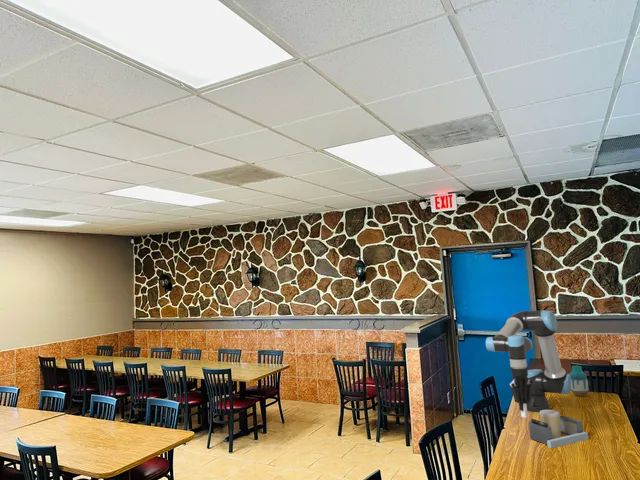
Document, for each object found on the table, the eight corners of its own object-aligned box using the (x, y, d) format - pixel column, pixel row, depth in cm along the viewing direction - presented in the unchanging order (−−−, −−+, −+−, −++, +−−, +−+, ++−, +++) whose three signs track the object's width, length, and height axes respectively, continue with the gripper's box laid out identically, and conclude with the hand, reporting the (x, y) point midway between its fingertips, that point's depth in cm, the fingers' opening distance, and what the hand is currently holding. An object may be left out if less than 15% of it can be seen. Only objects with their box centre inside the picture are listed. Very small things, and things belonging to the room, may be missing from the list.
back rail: (547, 447, 207) (546, 440, 207) (585, 438, 215) (584, 431, 215) (551, 448, 205) (550, 441, 205) (588, 439, 213) (587, 432, 213)
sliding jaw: (530, 438, 218) (528, 418, 219) (536, 437, 219) (533, 417, 220) (548, 445, 208) (545, 424, 209) (554, 443, 209) (551, 423, 210)
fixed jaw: (559, 432, 224) (557, 416, 225) (565, 431, 225) (563, 415, 226) (578, 439, 214) (576, 422, 215) (584, 437, 215) (581, 421, 216)
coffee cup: (560, 433, 223) (557, 409, 224) (564, 440, 214) (561, 414, 216) (540, 433, 226) (537, 409, 227) (543, 439, 217) (540, 414, 218)
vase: (575, 398, 285) (571, 368, 287) (568, 394, 296) (565, 365, 298) (592, 397, 283) (588, 367, 286) (585, 393, 294) (581, 364, 296)
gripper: (514, 370, 209) (519, 421, 206) (535, 367, 213) (541, 416, 210) (502, 368, 216) (508, 417, 213) (523, 365, 220) (529, 413, 217)
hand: (524, 417), depth 212 cm, fingers closed
